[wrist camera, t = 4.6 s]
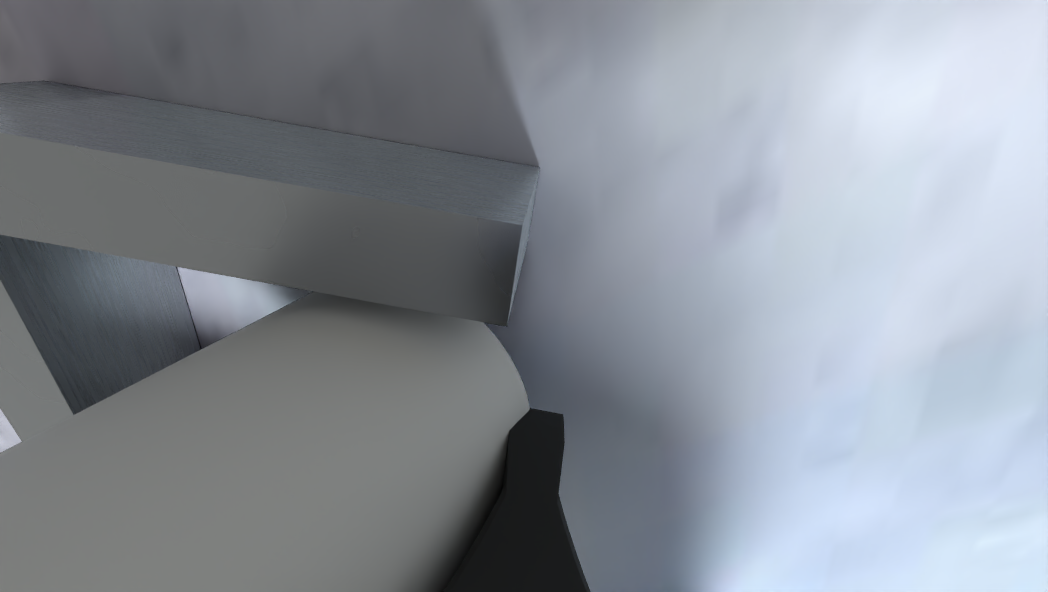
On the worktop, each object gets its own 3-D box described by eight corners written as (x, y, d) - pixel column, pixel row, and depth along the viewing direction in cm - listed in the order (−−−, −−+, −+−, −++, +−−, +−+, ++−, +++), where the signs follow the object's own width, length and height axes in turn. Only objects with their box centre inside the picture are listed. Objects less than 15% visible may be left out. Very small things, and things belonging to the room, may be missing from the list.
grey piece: (487, 491, 15) (464, 603, 12) (178, 432, 15) (79, 529, 12) (539, 167, 9) (522, 225, 6) (45, 80, 9) (-205, 96, 6)
